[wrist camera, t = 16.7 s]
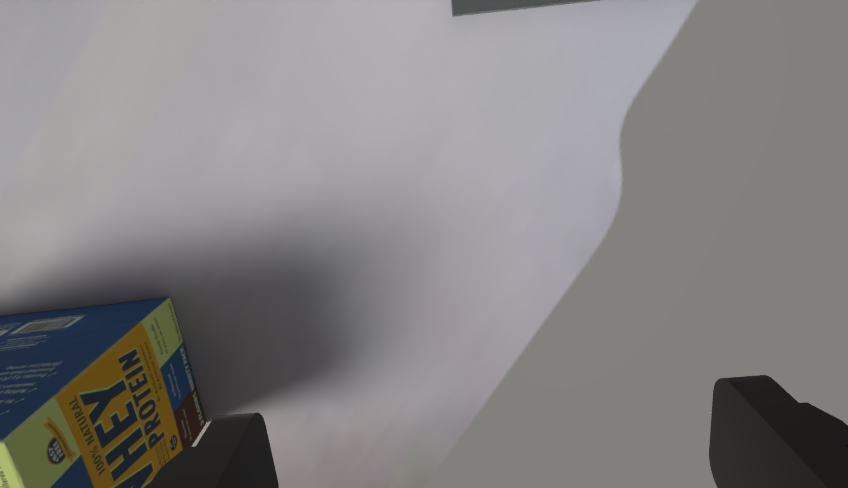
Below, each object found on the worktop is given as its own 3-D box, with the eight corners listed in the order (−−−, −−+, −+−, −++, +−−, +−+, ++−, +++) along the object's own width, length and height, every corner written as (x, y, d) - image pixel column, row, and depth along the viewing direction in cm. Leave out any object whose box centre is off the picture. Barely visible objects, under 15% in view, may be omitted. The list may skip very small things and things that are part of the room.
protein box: (210, 422, 41) (84, 625, 26) (13, 443, 42) (-218, 649, 27) (173, 293, 38) (5, 439, 23) (-40, 317, 39) (-335, 474, 24)
